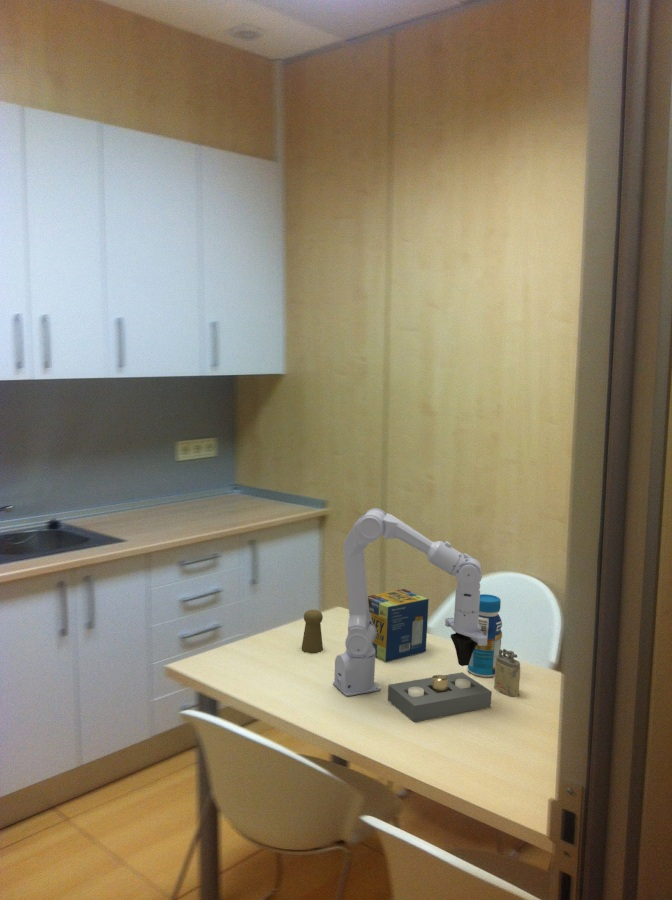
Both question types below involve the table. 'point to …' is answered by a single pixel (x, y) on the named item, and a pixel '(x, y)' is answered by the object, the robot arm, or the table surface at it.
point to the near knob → (416, 691)
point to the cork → (312, 632)
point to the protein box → (399, 624)
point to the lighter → (507, 673)
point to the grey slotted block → (439, 698)
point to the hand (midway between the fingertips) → (463, 664)
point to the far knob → (462, 683)
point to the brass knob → (440, 683)
